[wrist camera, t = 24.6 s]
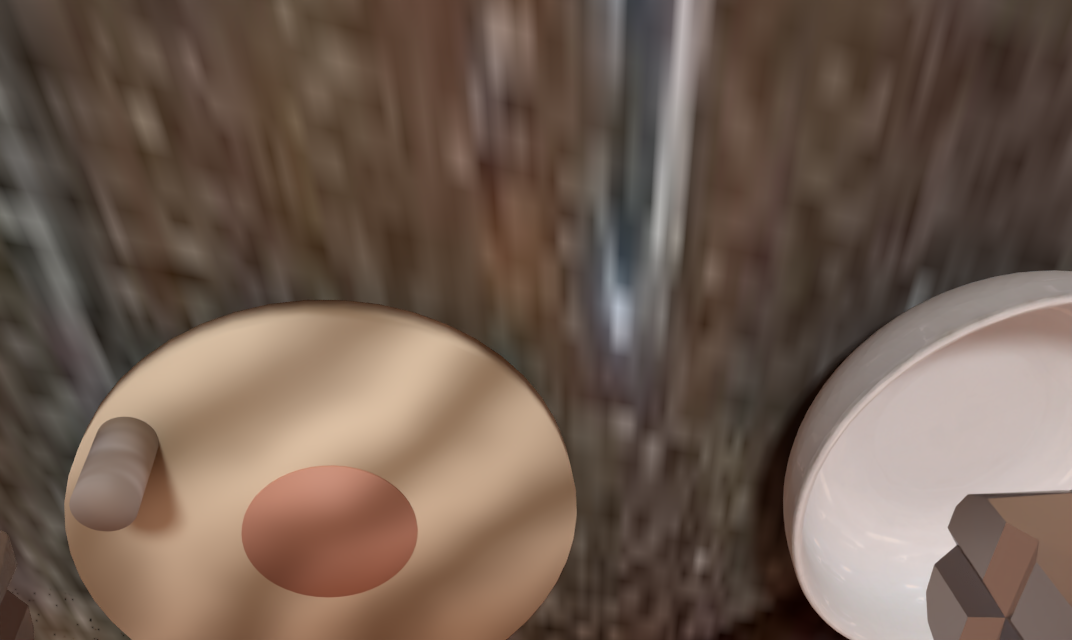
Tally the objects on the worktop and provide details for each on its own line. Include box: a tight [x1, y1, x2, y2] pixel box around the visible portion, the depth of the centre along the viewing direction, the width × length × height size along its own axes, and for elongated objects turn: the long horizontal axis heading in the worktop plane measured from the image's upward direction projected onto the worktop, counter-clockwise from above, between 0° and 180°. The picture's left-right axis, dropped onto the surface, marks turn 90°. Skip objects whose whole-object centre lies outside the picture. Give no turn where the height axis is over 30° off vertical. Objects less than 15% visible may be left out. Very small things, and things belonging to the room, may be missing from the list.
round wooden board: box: [65, 300, 577, 640], centre depth 43 cm, size 22×22×6 cm
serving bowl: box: [783, 271, 1072, 640], centre depth 47 cm, size 21×21×7 cm
